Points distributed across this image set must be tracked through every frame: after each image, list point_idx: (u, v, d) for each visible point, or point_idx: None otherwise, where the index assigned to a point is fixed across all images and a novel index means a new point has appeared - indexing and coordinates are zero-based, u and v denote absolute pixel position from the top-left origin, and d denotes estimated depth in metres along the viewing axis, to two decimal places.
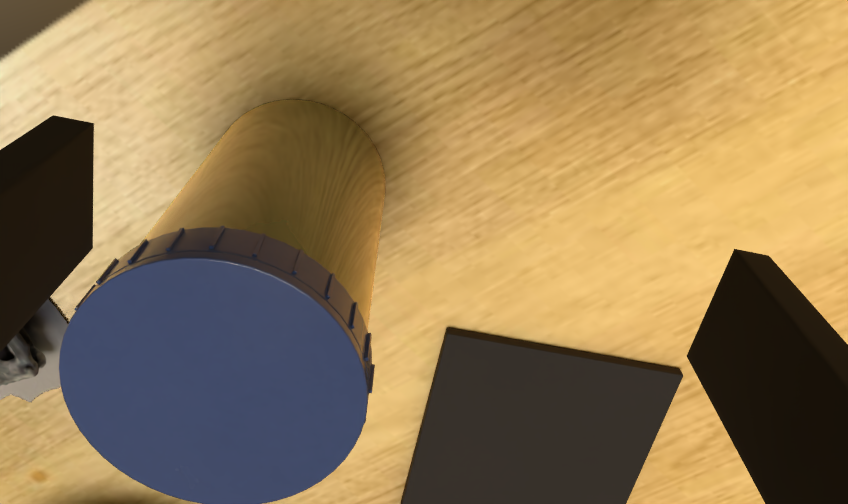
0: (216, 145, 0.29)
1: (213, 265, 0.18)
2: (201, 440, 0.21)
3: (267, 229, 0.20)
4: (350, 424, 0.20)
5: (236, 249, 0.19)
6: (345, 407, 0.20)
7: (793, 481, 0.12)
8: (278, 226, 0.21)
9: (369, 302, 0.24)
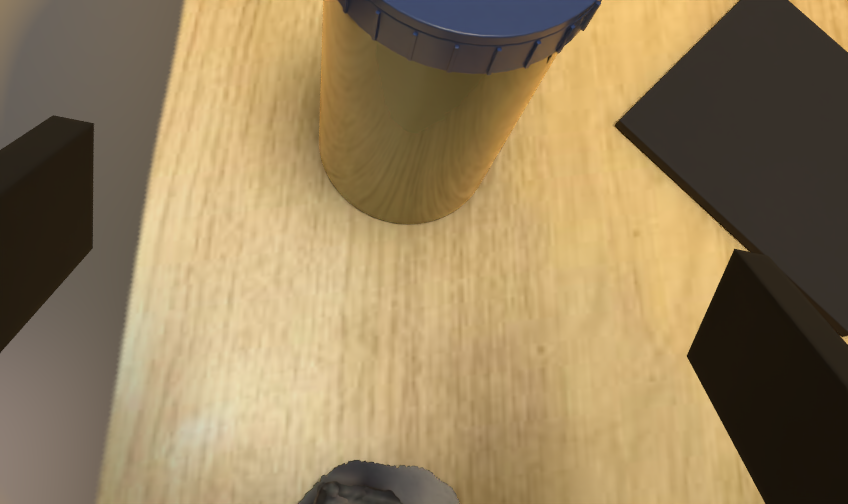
0: (321, 122, 0.30)
1: None
2: None
3: None
4: None
5: None
6: None
7: (793, 481, 0.12)
8: None
9: None
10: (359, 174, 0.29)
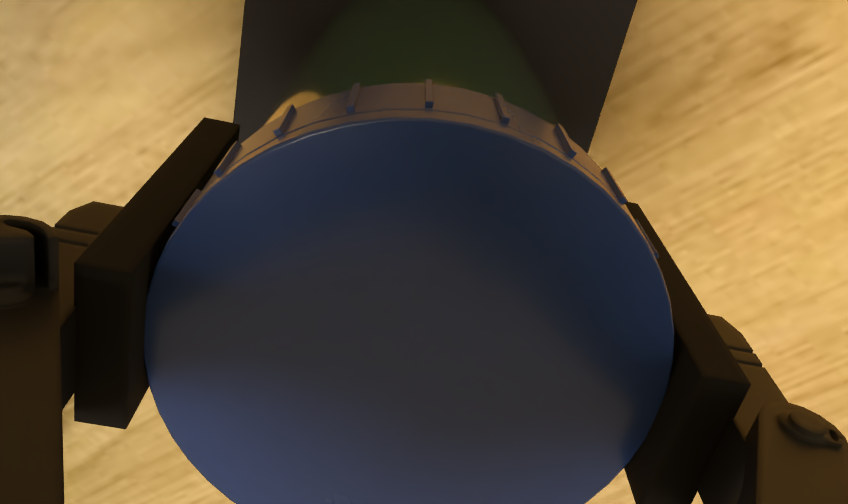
0: (322, 34, 0.21)
1: (440, 132, 0.10)
2: (375, 452, 0.12)
3: None
4: (630, 425, 0.12)
5: (471, 110, 0.10)
6: (629, 396, 0.12)
7: None
8: None
9: None
10: None
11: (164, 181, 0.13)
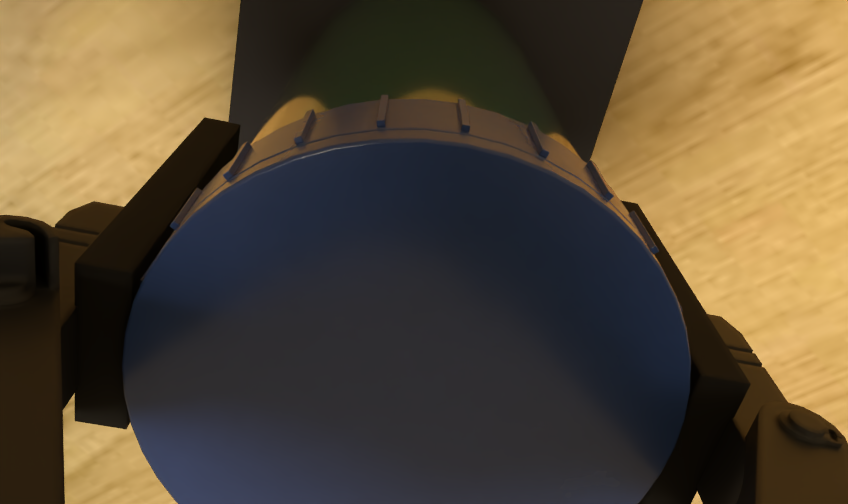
0: (319, 38, 0.20)
1: (134, 357, 0.10)
2: (508, 448, 0.11)
3: (489, 108, 0.12)
4: (520, 188, 0.09)
5: None
6: (471, 191, 0.09)
7: None
8: (500, 107, 0.12)
9: None
10: None
11: (164, 181, 0.13)
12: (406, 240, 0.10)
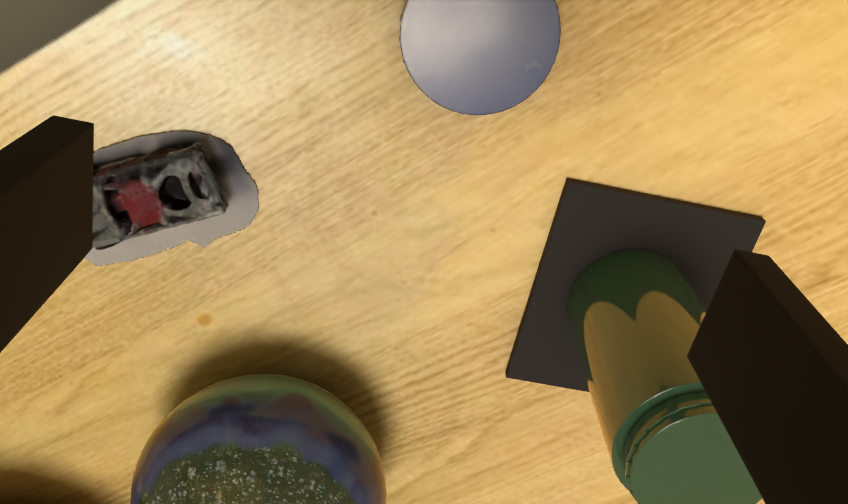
0: (599, 288, 0.42)
1: (405, 19, 0.37)
2: (509, 52, 0.38)
3: None
4: None
5: (404, 7, 0.38)
6: None
7: (793, 481, 0.12)
8: None
9: None
10: (576, 334, 0.43)
11: None
12: None
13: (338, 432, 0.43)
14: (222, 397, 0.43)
